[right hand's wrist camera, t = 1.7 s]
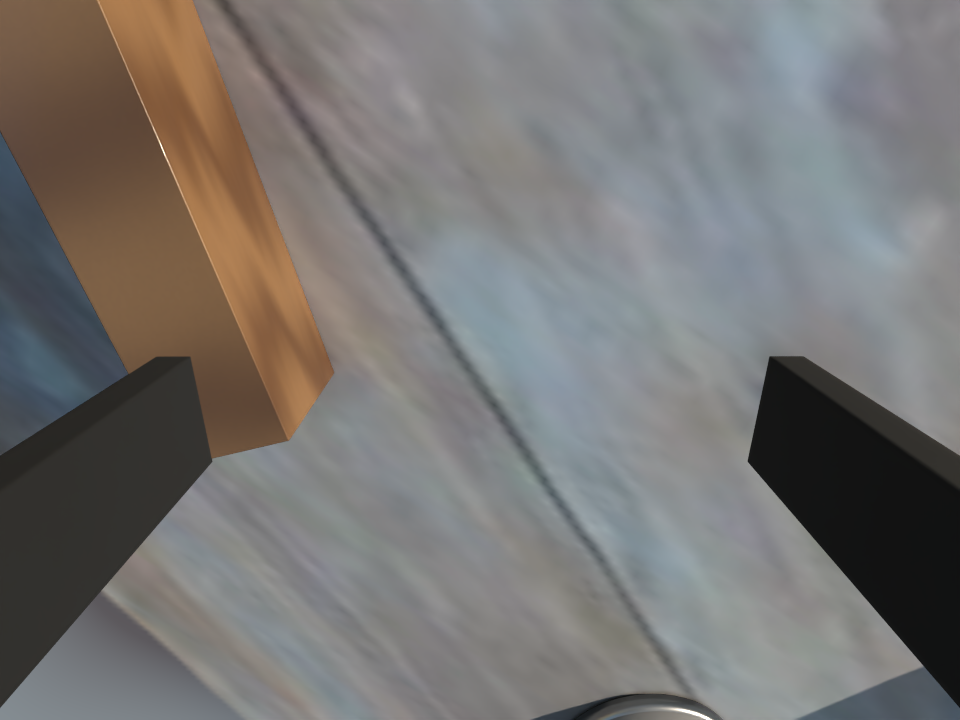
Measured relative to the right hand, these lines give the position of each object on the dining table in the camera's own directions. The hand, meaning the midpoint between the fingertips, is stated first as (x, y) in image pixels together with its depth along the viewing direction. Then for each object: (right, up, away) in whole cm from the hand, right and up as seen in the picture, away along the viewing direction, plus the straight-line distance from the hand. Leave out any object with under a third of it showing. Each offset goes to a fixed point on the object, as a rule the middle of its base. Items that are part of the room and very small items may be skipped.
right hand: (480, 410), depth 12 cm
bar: (-15, +12, +16) cm, 25 cm away
